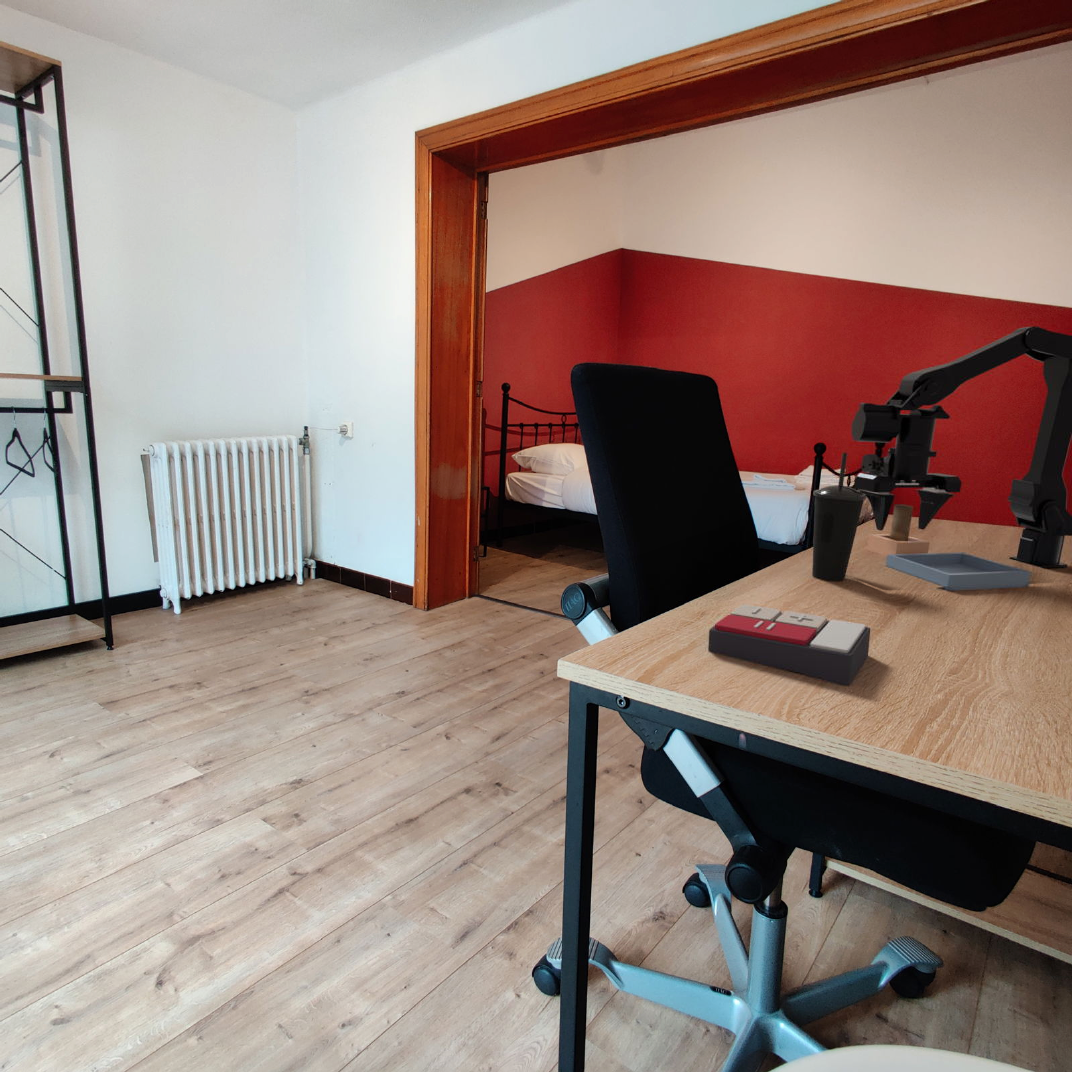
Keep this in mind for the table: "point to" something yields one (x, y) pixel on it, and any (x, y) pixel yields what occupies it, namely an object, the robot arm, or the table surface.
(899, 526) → the walnut dowel
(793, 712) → the table surface
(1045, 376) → the robot arm
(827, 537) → the drinking cup
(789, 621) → the calculator
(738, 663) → the table surface
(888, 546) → the terracotta socket
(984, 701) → the table surface
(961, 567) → the slate tray
